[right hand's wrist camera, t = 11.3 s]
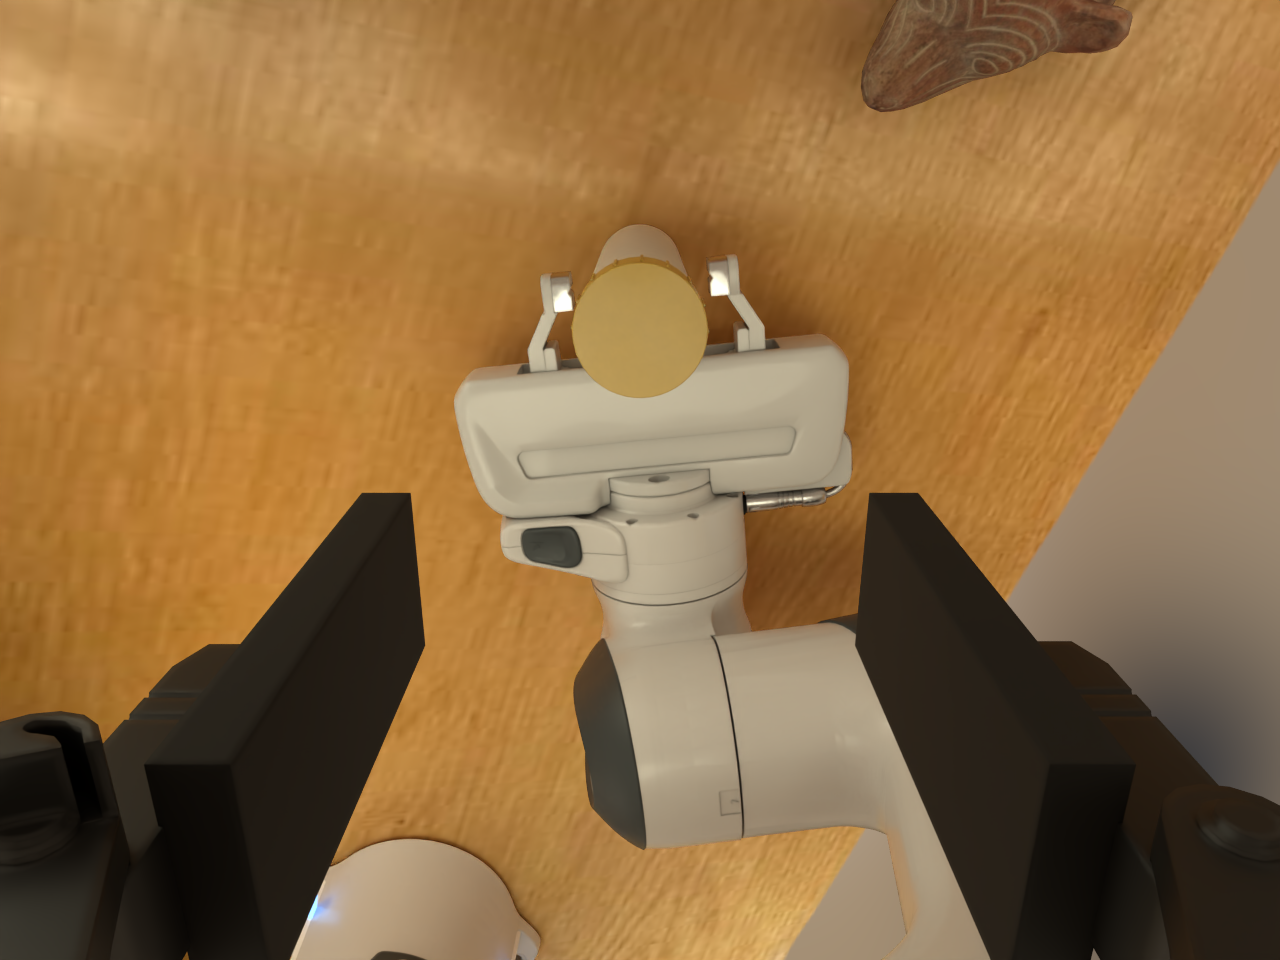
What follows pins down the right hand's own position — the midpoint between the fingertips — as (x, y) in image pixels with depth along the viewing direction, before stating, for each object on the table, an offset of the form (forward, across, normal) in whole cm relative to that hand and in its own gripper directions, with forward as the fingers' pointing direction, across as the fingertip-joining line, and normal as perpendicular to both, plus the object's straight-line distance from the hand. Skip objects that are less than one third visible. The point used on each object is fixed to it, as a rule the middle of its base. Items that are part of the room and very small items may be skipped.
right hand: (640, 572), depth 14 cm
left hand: (+33, 0, -1) cm, 33 cm away
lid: (+20, 0, 0) cm, 20 cm away
